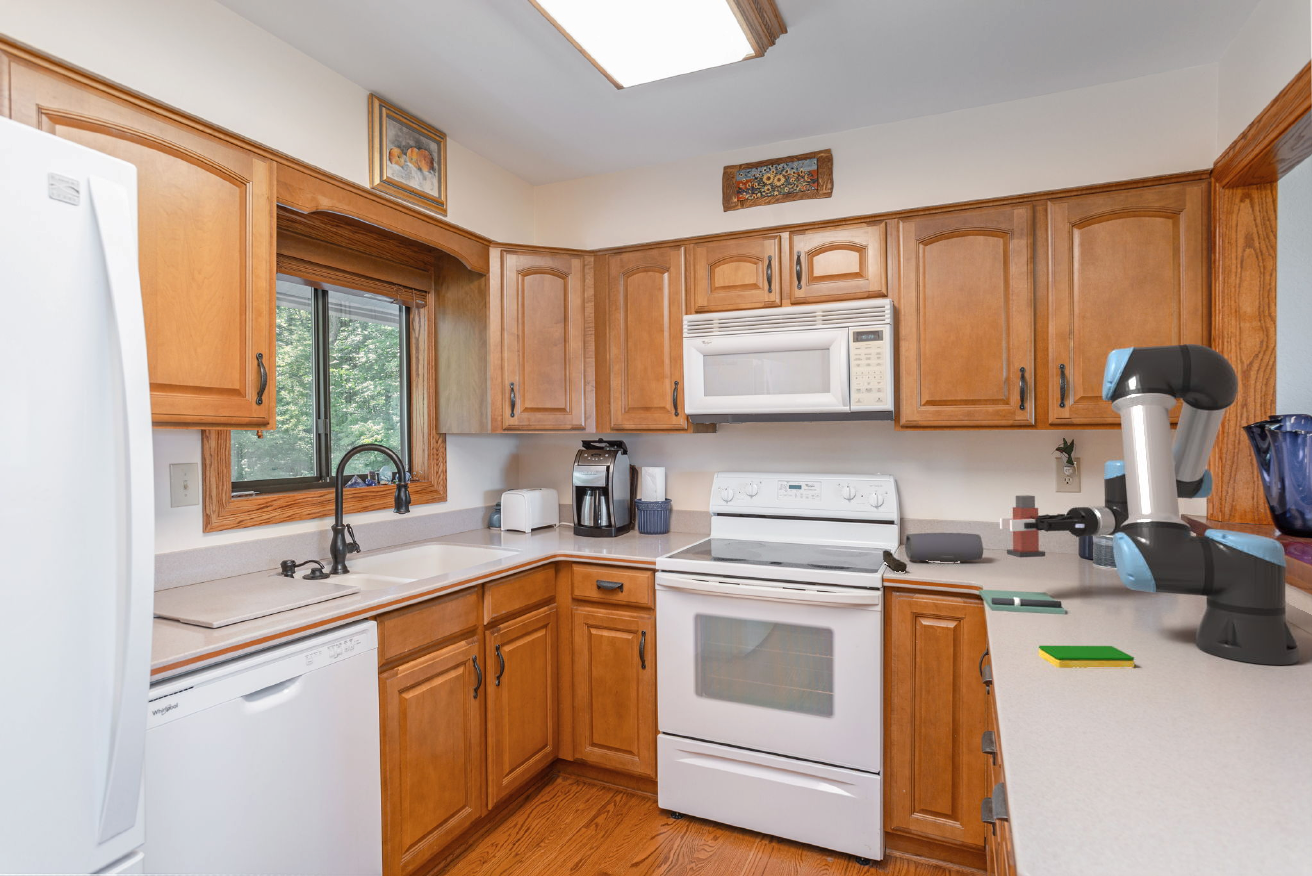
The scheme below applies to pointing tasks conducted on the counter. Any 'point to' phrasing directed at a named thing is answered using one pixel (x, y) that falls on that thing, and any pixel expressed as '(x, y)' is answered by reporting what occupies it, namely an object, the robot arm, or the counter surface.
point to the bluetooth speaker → (943, 547)
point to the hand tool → (894, 562)
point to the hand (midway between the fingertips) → (1006, 524)
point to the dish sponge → (1085, 656)
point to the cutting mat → (1019, 595)
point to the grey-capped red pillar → (1025, 540)
